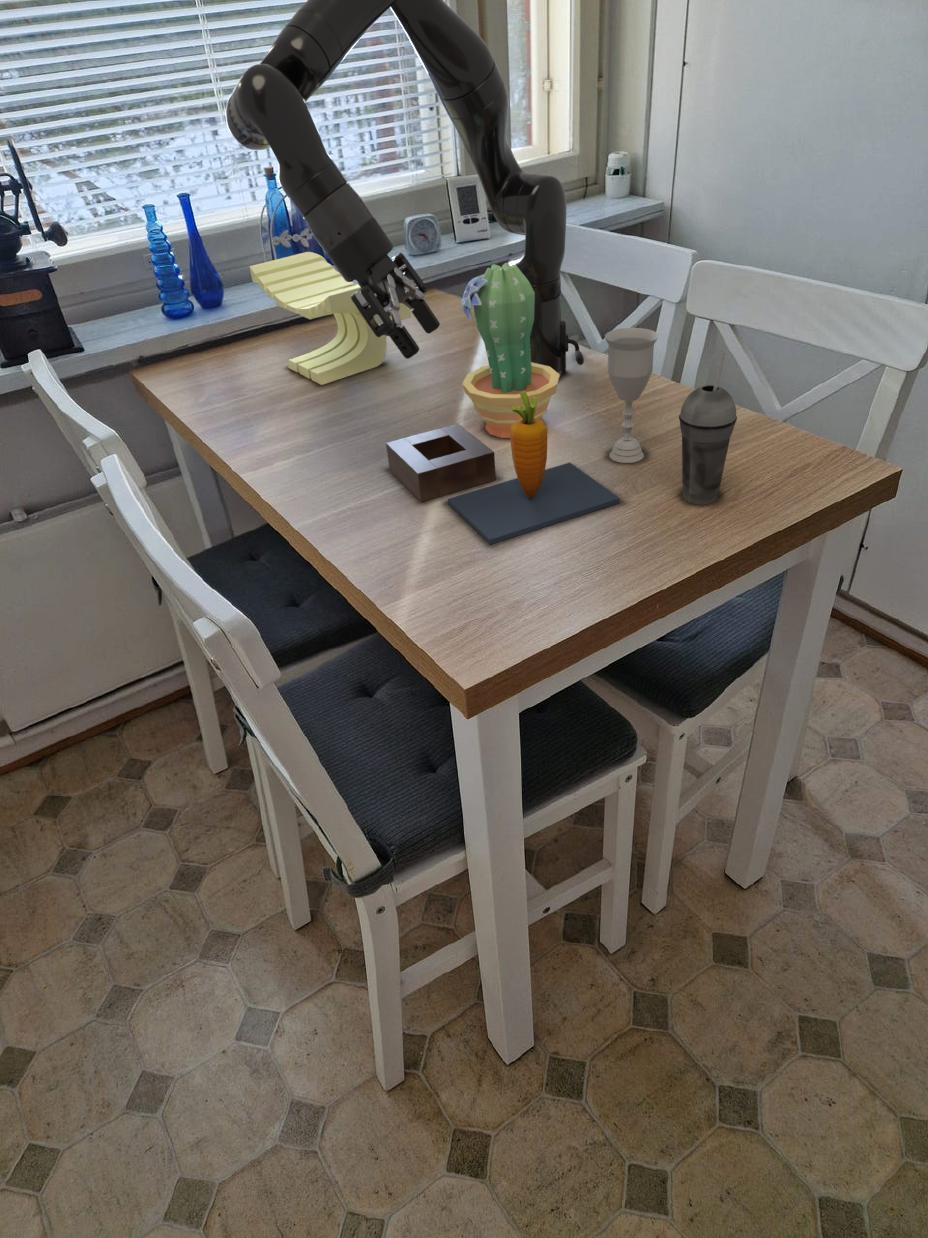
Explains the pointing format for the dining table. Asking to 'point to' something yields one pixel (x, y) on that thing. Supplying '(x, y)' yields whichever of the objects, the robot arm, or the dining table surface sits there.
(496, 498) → the mat
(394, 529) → the dining table surface
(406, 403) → the dining table surface
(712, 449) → the beverage cup
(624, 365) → the chalice
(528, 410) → the carrot
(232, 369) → the dining table surface
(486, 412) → the potted cactus
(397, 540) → the dining table surface
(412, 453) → the stand
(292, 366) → the slatted curved stool
